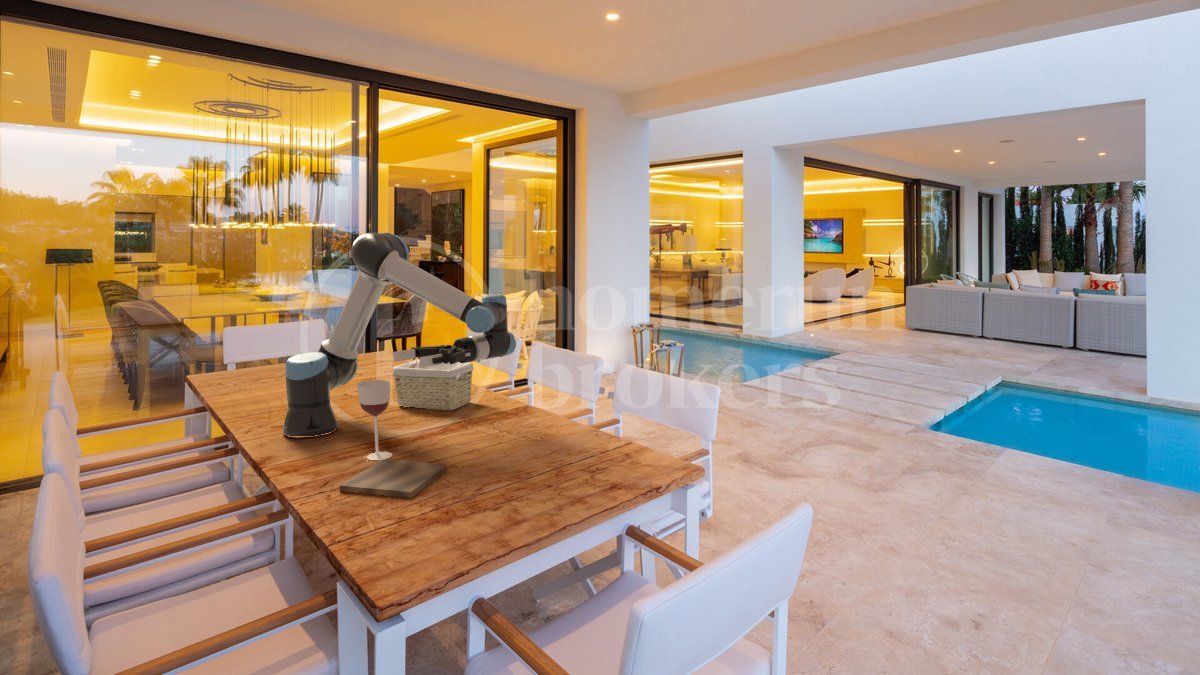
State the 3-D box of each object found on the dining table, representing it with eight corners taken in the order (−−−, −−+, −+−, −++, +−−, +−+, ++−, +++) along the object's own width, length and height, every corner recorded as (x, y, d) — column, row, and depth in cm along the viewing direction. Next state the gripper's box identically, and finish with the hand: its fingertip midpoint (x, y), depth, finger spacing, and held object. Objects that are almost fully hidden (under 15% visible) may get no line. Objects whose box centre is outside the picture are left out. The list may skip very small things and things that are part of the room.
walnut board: (339, 491, 144) (339, 485, 144) (382, 464, 161) (381, 459, 161) (411, 498, 140) (411, 491, 140) (446, 470, 158) (446, 464, 158)
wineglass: (380, 449, 174) (376, 378, 171) (400, 454, 169) (396, 382, 166) (354, 457, 168) (350, 384, 165) (374, 463, 163) (370, 388, 160)
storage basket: (392, 407, 218) (390, 366, 216) (419, 397, 233) (417, 358, 231) (452, 413, 211) (450, 370, 209) (476, 402, 226) (475, 361, 224)
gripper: (497, 366, 180) (433, 378, 164) (446, 357, 196) (384, 367, 181) (496, 340, 179) (432, 350, 163) (445, 333, 195) (382, 341, 179)
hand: (406, 359), depth 172 cm, fingers open, 13 cm apart
